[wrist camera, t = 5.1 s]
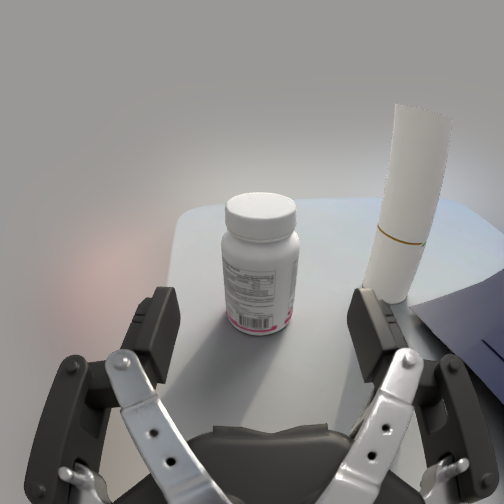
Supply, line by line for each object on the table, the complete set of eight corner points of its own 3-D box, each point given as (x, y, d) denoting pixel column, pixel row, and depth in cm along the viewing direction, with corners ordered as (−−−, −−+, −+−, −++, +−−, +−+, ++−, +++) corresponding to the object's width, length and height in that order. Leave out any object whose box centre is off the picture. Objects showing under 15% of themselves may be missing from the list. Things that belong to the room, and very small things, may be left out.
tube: (381, 309, 20) (429, 110, 12) (353, 278, 23) (383, 101, 15) (415, 296, 21) (462, 122, 13) (387, 269, 24) (420, 110, 16)
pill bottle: (262, 284, 23) (265, 184, 18) (305, 315, 20) (321, 207, 15) (213, 308, 20) (203, 201, 16) (254, 348, 17) (255, 231, 12)
